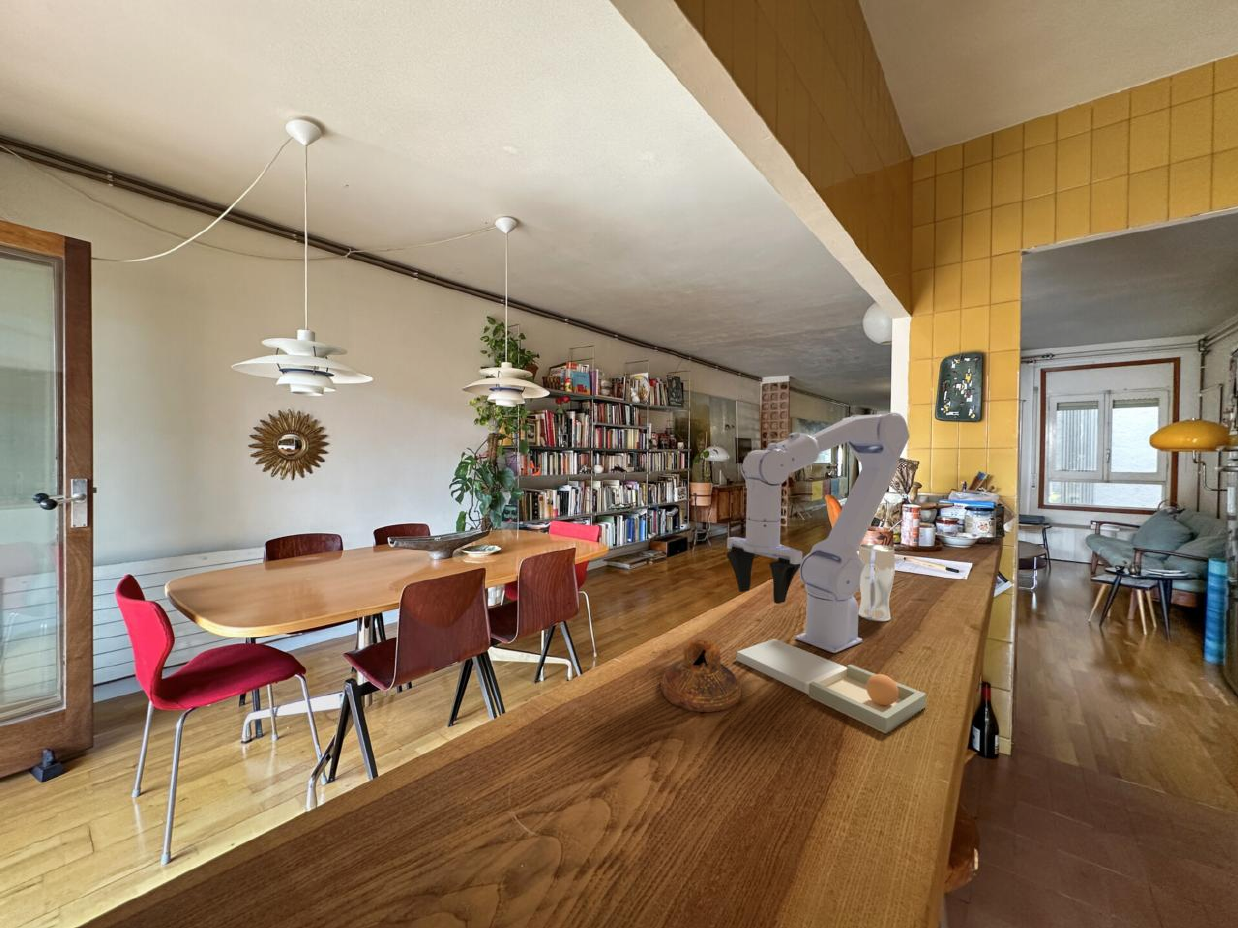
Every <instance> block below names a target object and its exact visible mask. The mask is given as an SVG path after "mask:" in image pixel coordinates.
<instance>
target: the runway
mask: <svg viewBox="0 0 1238 928" xmlns="http://www.w3.org/2000/svg"><path fill="white" fill-rule="evenodd" d="M736 661H737V662H739V663H741V664H743V665H746V666H748V667H749V668H752V669H754V670H756V671H758V672H760V673H762V674H764V675H766V676H769V677H771V678H772V679H775V680H777V681H779V682H781V683H783V684H785V685H787V686H790V687H791V688H794V689H796V690H797V691H800V692H801V693H804V694H806V695H808V696H809V683H811V682H816V683H818V684H820V685H822V686H824V687H826V686H828V685H830V684H832V683H834V682H836V681H838V680H841V679H843V678H845V677H847V666H844V665H842V664H839V663H837V662H834V661H832V660H829V659H826V658H825V657H822V656H819V655H817V654H814V653H811V652H810V651H807V650H804V649H801V648H799V647H796V646H794V645H792V644H789V643H787V642H784V641H781V640H779V639H777V638H772V639H769V640H766V641H764V642H761V643H757V644H755V645H752V646H750V647H746V648H743V649H740V650H738V651H736Z"/></svg>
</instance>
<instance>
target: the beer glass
mask: <svg viewBox="0 0 1238 928" xmlns="http://www.w3.org/2000/svg"><path fill="white" fill-rule="evenodd" d="M858 555H859V557H860V558H861V560H862V562H863V564H864V568H863V571H862V573H861V579H860V586H859V589H860V605H859V607H858V609H859V611H858V616H860V617H861V618H863V619H864V620H869V621H874V622H887V621H890V620H891V611H890V596H891V591H892V588H893V584H894V580H895V579H894V578H895V572H896V557H895V547H892V546H890V545H886V544H877V543H861V545H860V547H859V549H858Z"/></svg>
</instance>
